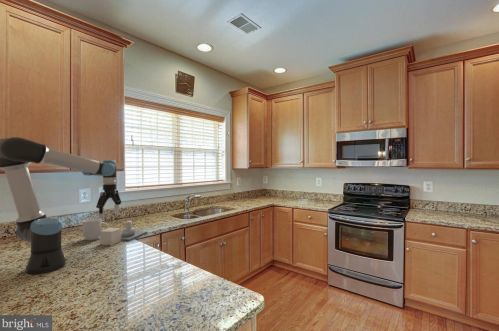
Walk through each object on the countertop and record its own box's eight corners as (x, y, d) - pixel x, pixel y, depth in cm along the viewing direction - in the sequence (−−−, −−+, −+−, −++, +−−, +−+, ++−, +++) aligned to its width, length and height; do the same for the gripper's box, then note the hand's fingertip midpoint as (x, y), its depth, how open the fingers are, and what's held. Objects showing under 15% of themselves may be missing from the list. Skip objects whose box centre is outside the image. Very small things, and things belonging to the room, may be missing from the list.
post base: (129, 241, 163) (129, 225, 163) (108, 239, 166) (108, 224, 166) (147, 233, 182) (147, 219, 182) (128, 231, 185) (128, 218, 185)
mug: (106, 234, 177) (106, 216, 177) (109, 238, 169) (109, 219, 169) (81, 238, 168) (81, 219, 168) (83, 242, 159) (83, 222, 159)
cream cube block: (111, 245, 155) (111, 231, 155) (99, 244, 156) (99, 231, 156) (120, 241, 163) (120, 228, 163) (109, 240, 165) (109, 227, 165)
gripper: (100, 185, 148) (100, 220, 148) (126, 182, 172) (126, 212, 172) (89, 185, 149) (89, 220, 149) (117, 182, 173) (117, 212, 173)
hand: (109, 216), depth 161 cm, fingers open, 13 cm apart
